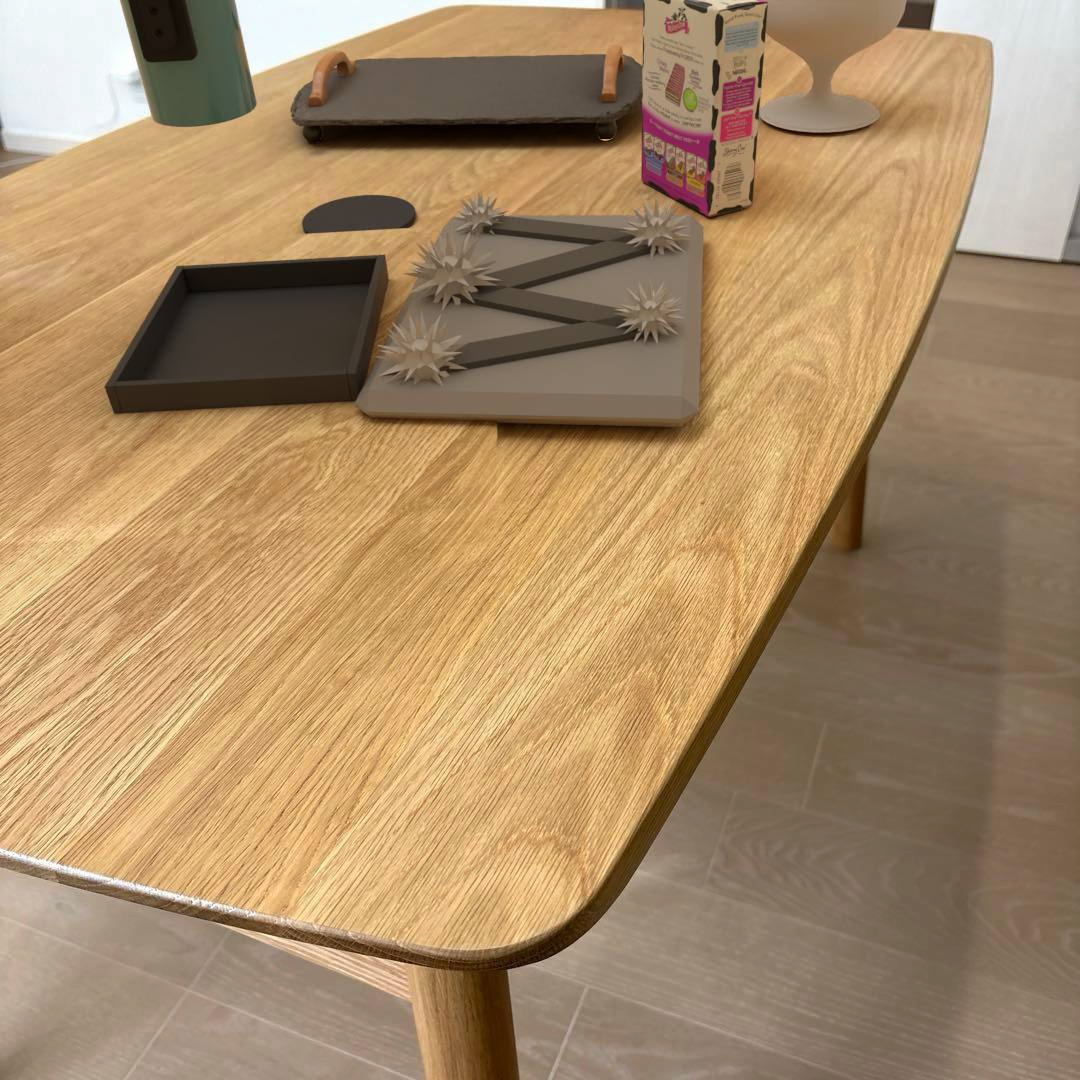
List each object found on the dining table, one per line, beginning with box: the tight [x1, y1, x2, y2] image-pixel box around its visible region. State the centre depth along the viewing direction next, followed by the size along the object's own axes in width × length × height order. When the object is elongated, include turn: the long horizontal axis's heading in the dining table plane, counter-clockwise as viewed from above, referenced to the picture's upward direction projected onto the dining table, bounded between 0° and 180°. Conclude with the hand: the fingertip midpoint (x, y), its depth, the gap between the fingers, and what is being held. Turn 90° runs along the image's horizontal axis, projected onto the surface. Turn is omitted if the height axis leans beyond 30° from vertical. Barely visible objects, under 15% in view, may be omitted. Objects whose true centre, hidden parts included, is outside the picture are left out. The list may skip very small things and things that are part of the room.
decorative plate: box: [354, 190, 705, 428], centre depth 75 cm, size 30×22×7 cm
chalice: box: [759, 0, 907, 133], centre depth 105 cm, size 14×14×15 cm
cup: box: [119, 0, 258, 128], centre depth 68 cm, size 7×7×9 cm
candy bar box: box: [640, 0, 768, 218], centre depth 90 cm, size 11×5×16 cm, turn 28°
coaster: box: [301, 194, 417, 235], centre depth 95 cm, size 10×10×1 cm
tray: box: [104, 254, 389, 415], centre depth 76 cm, size 16×18×3 cm
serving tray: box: [290, 44, 643, 145], centre depth 115 cm, size 39×23×6 cm, turn 82°
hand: (188, 41), depth 68 cm, fingers closed on cup, 6 cm apart
